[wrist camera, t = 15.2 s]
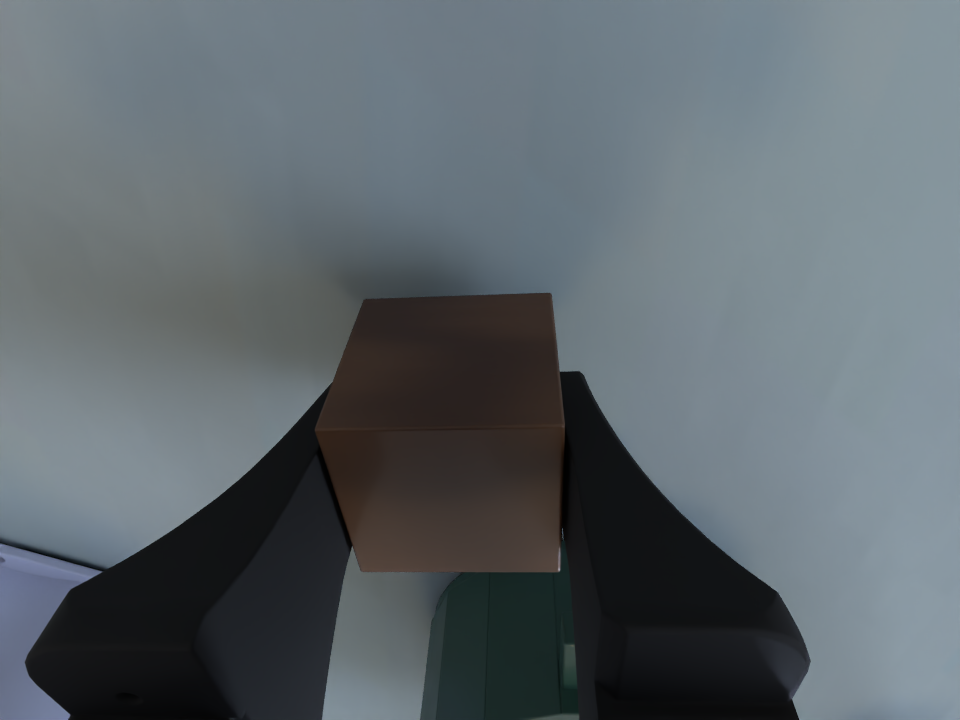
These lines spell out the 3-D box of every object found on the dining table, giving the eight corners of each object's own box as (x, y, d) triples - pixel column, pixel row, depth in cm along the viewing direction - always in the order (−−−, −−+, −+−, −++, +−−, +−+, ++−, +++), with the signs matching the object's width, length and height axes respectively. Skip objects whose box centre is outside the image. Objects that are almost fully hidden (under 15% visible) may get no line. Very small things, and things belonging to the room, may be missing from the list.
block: (392, 432, 16) (360, 573, 13) (362, 297, 14) (312, 430, 10) (550, 429, 16) (560, 573, 13) (551, 291, 13) (565, 425, 10)
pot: (454, 712, 32) (444, 854, 27) (407, 492, 21) (375, 668, 16) (694, 717, 31) (727, 865, 26) (778, 490, 20) (862, 676, 15)
